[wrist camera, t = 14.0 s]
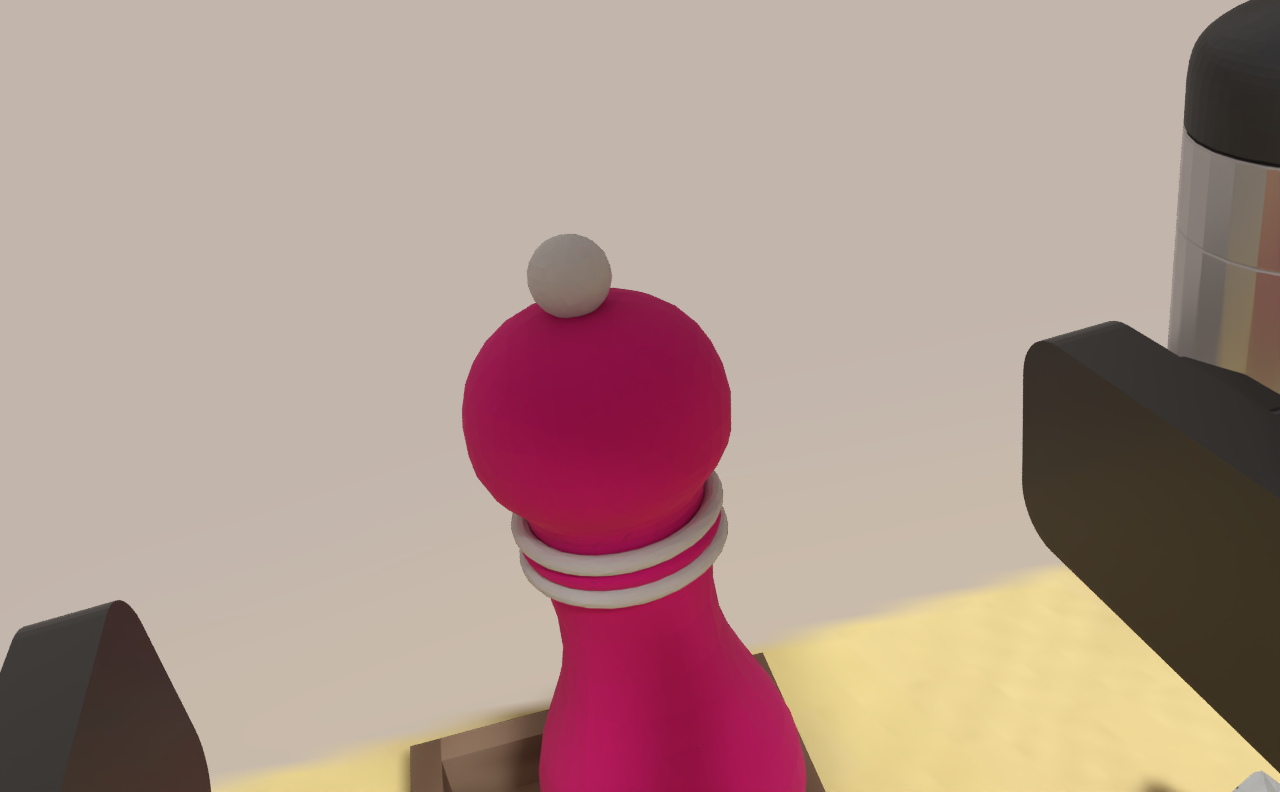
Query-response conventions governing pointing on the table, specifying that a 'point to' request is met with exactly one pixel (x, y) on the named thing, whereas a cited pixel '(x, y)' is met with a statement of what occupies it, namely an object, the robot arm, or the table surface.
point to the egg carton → (1259, 783)
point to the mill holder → (507, 757)
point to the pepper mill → (625, 534)
